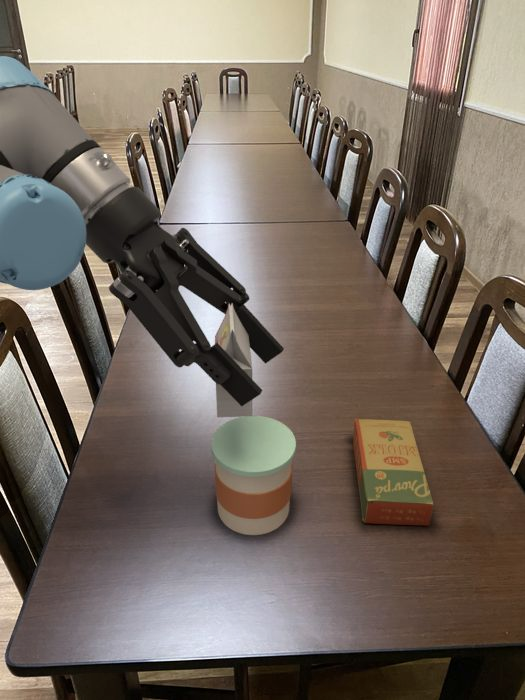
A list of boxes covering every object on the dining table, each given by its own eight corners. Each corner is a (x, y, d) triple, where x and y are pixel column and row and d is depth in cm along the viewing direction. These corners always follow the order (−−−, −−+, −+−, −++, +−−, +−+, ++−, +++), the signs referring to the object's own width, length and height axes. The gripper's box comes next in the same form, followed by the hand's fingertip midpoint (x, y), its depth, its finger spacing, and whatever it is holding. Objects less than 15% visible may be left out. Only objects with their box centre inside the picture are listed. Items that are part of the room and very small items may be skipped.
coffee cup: (202, 526, 66) (197, 460, 61) (230, 471, 74) (228, 409, 69) (280, 546, 64) (283, 480, 58) (300, 487, 72) (304, 424, 66)
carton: (407, 442, 80) (411, 419, 78) (430, 528, 66) (436, 503, 64) (351, 439, 80) (354, 416, 78) (362, 524, 67) (366, 500, 64)
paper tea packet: (248, 379, 62) (248, 301, 57) (252, 416, 56) (252, 333, 51) (216, 381, 62) (213, 302, 57) (217, 417, 56) (213, 334, 51)
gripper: (62, 215, 42) (259, 419, 46) (174, 161, 58) (310, 314, 63) (19, 270, 46) (205, 453, 50) (135, 205, 62) (266, 346, 67)
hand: (263, 375), depth 56 cm, fingers closed on paper tea packet, 8 cm apart
